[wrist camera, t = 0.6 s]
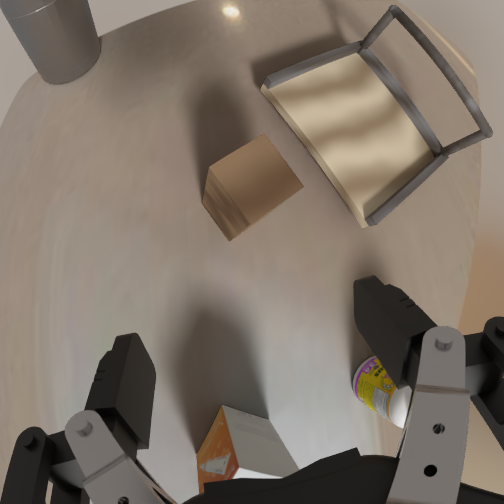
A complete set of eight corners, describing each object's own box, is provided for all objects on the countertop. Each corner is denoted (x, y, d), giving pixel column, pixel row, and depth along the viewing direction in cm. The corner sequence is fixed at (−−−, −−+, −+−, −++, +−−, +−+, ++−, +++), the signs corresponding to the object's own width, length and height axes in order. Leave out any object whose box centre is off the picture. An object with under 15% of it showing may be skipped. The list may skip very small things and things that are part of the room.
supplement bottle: (393, 349, 37) (463, 371, 24) (391, 394, 36) (455, 426, 24) (350, 359, 35) (416, 390, 23) (349, 407, 35) (408, 450, 22)
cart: (256, 98, 35) (290, 22, 21) (347, 58, 39) (394, 0, 25) (353, 230, 37) (433, 209, 23) (427, 166, 40) (497, 135, 26)
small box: (220, 402, 32) (239, 465, 19) (270, 419, 33) (309, 479, 20) (194, 455, 31) (201, 527, 18) (242, 469, 32) (267, 538, 19)
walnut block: (202, 203, 33) (208, 166, 22) (239, 178, 34) (264, 133, 23) (229, 241, 34) (250, 224, 22) (265, 215, 35) (304, 186, 23)
